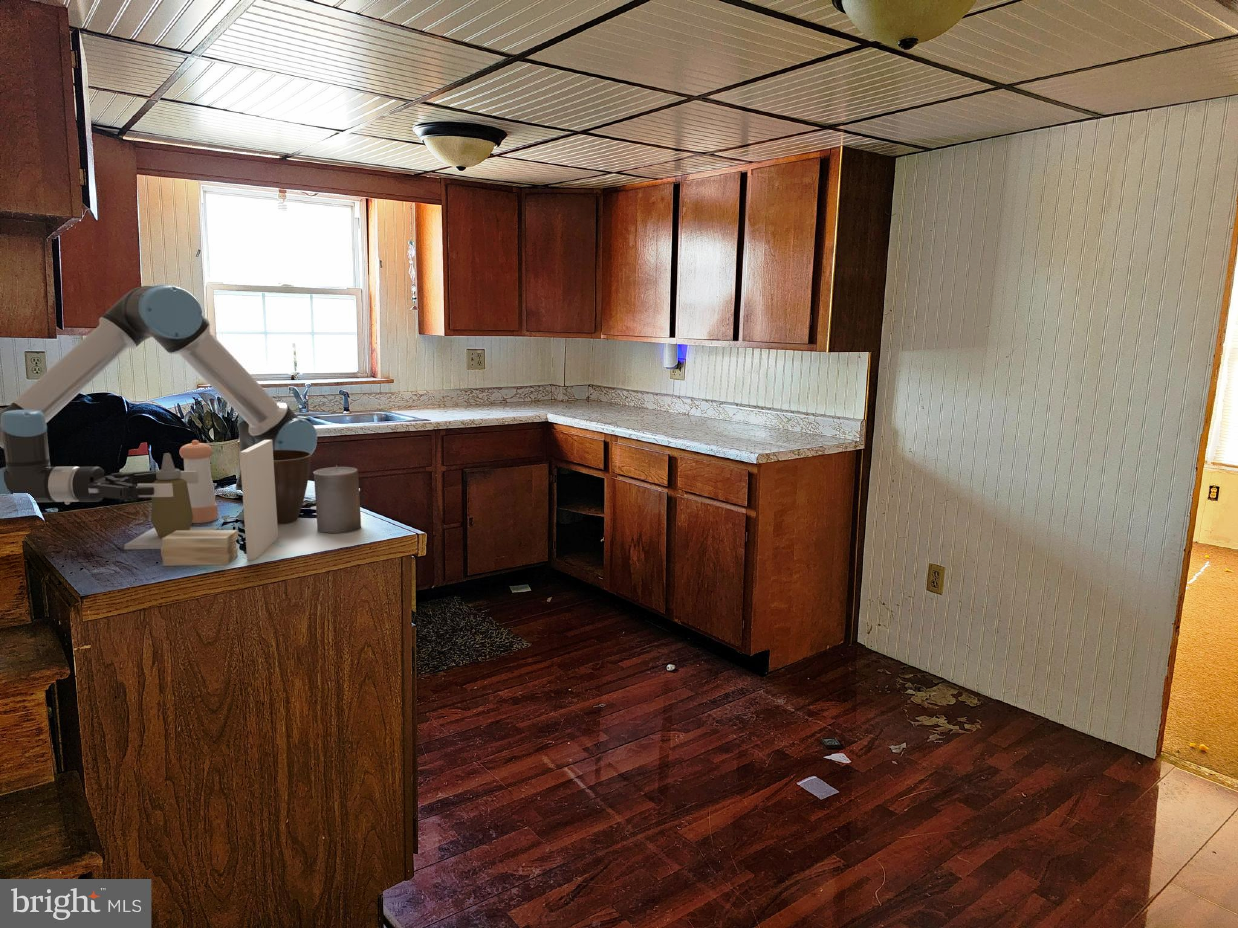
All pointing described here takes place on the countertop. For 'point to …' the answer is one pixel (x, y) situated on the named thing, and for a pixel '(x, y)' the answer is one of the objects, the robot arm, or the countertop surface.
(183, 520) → the squeeze bottle
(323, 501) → the pillar candle
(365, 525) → the countertop surface
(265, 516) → the panel
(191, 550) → the offcut stack
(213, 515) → the pepper shaker
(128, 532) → the countertop surface
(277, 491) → the plant pot
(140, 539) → the grey mat
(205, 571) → the countertop surface
